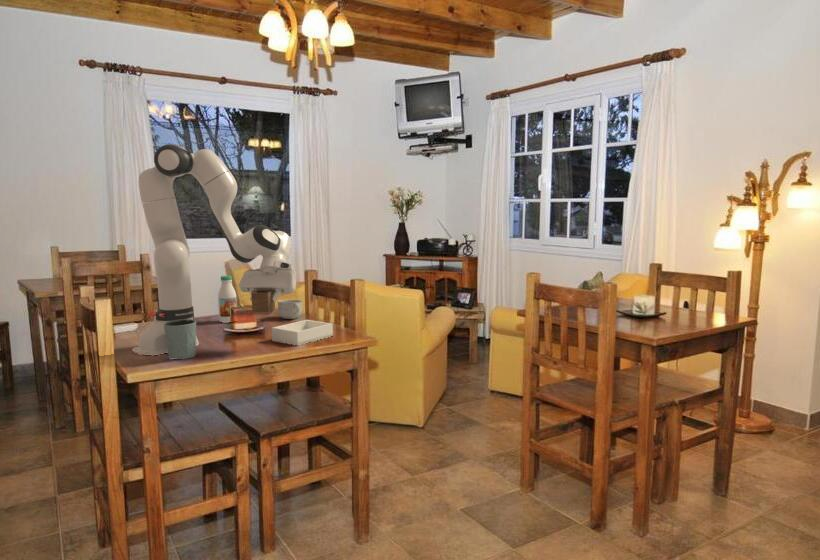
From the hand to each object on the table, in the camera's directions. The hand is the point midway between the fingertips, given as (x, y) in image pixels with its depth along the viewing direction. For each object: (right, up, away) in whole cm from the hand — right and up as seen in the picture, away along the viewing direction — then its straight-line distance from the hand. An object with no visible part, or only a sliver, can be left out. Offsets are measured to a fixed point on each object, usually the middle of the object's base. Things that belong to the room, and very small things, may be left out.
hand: (262, 300), depth 209 cm
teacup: (-1, -10, +56) cm, 57 cm away
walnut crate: (0, -4, +1) cm, 4 cm away
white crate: (+11, -15, +17) cm, 25 cm away
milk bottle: (-27, -11, +51) cm, 59 cm away
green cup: (-25, -19, -8) cm, 33 cm away
